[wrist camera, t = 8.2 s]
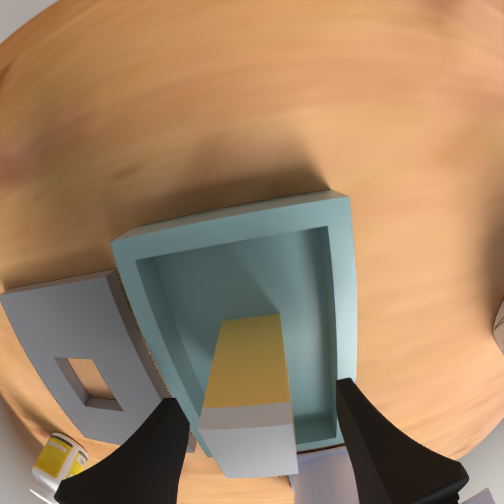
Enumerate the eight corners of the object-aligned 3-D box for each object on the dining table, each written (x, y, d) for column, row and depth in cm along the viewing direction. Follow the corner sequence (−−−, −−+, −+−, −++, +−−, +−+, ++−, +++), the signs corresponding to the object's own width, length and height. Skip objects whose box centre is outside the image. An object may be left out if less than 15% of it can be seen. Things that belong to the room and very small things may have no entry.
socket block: (196, 441, 19) (194, 452, 18) (89, 429, 20) (85, 437, 19) (115, 268, 14) (105, 276, 13) (7, 289, 15) (-2, 295, 14)
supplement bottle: (47, 432, 22) (18, 482, 13) (62, 429, 21) (30, 487, 12) (78, 457, 23) (54, 508, 14) (96, 456, 22) (71, 515, 13)
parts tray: (342, 413, 17) (350, 441, 15) (212, 429, 18) (207, 457, 16) (331, 189, 13) (349, 196, 10) (135, 227, 14) (109, 241, 11)
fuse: (287, 370, 15) (298, 473, 8) (237, 376, 15) (226, 478, 9) (279, 313, 14) (292, 423, 7) (221, 320, 14) (197, 429, 7)
